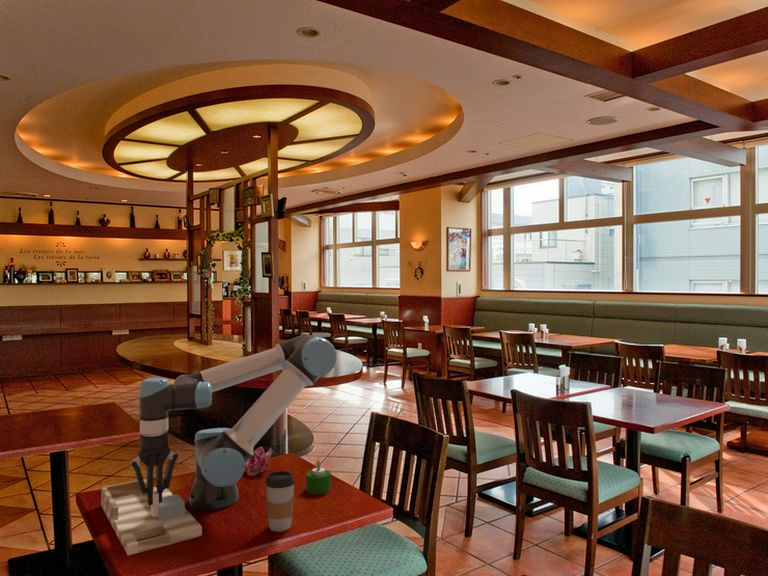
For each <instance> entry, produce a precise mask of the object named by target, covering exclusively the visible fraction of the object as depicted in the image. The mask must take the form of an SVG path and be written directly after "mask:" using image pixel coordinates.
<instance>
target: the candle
mask: <svg viewBox="0 0 768 576" xmlns="http://www.w3.org/2000/svg"><path fill="white" fill-rule="evenodd" d="M321 463H322V462H321V460H319V459H318V460H317V461H316V464H315V465H316V467H315V468H312V469H311V470H309V471H307V472H306V474H305V475H306V477H305V478H306V482H305V483H306V484H305V485H306V486H305V489H306V492H307V493H309V494H312V495H323V494H327V493H329V492H330V491H331V489H332V488H331V487H332V484H331V483H332V478H331V477H332V475H331V474H332V473H331V471H330V470H328V469H325V468H324V467H321V465H322V464H321Z"/></svg>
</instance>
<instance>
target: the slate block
mask: <svg viewBox="0 0 768 576" xmlns="http://www.w3.org/2000/svg"><path fill="white" fill-rule="evenodd" d="M185 509H186V508H185V500H184V499H183V498H182V497H181V496H180V495H179V494H177V493H176V494H173V495H172V496H167V497H163V498H162V503H159V516H157V517H156V518H157V519H158V520H159V521H163V520H167V519H171V518H175V517H180V516H184V515H185Z"/></svg>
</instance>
